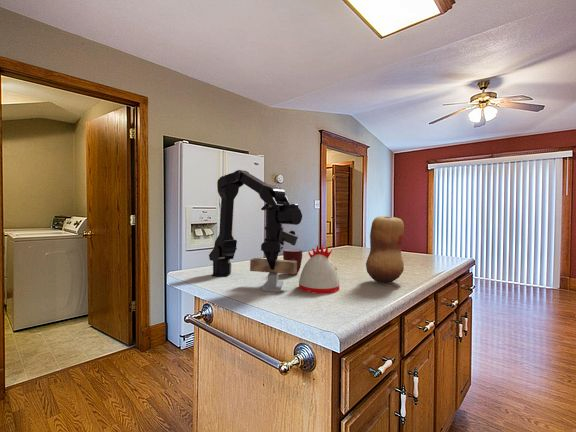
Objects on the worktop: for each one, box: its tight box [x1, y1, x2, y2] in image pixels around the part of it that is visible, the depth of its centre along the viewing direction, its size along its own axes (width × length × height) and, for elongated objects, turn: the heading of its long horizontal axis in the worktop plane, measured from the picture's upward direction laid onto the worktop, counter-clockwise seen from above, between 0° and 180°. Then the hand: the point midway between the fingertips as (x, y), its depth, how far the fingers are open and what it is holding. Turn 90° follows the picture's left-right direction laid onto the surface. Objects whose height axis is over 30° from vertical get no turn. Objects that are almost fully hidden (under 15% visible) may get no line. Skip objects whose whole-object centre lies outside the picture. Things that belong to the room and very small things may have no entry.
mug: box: [282, 248, 303, 276], centre depth 128 cm, size 11×8×10 cm
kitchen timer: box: [298, 244, 340, 295], centre depth 107 cm, size 14×14×15 cm
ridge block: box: [261, 272, 284, 292], centre depth 108 cm, size 6×12×5 cm, turn 177°
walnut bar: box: [249, 257, 298, 275], centre depth 108 cm, size 16×4×4 cm, turn 73°
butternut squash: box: [365, 215, 405, 284], centre depth 116 cm, size 14×13×25 cm
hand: (273, 268), depth 108 cm, fingers closed on walnut bar, 4 cm apart
